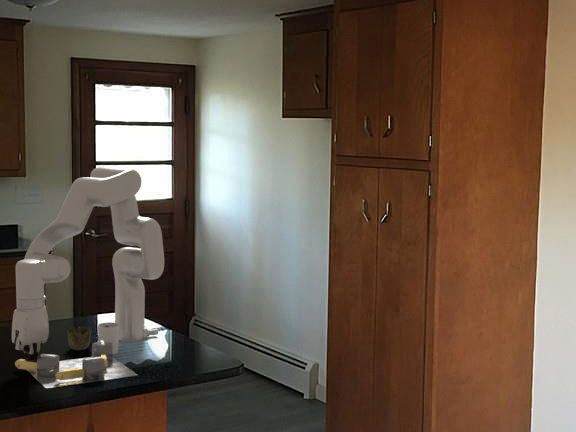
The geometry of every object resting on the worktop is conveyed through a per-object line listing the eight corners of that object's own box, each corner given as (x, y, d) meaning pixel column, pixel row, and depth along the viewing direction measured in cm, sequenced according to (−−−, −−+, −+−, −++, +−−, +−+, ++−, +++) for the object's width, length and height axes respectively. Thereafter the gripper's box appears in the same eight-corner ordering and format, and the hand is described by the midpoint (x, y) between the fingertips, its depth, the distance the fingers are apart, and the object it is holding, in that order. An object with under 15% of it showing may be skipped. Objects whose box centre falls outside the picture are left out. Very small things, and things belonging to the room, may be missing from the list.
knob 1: (63, 372, 231) (63, 353, 230) (51, 378, 225) (51, 359, 225) (22, 367, 235) (22, 348, 235) (9, 373, 229) (9, 353, 229)
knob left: (100, 373, 232) (100, 354, 231) (107, 379, 227) (107, 359, 226) (52, 380, 224) (52, 360, 224) (58, 386, 219) (58, 366, 219)
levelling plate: (109, 359, 251) (109, 354, 251) (138, 380, 232) (138, 374, 231) (22, 370, 237) (22, 365, 237) (45, 393, 218) (46, 387, 217)
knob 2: (91, 358, 246) (91, 340, 246) (111, 357, 248) (111, 339, 247) (93, 371, 233) (93, 352, 233) (115, 370, 235) (115, 351, 234)
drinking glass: (93, 357, 252) (93, 326, 251) (105, 352, 258) (105, 321, 257) (111, 360, 250) (111, 328, 249) (123, 355, 256) (123, 323, 255)
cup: (69, 358, 251) (69, 332, 250) (64, 352, 257) (64, 327, 257) (94, 355, 254) (94, 330, 254) (88, 349, 261) (88, 325, 260)
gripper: (41, 296, 240) (42, 357, 242) (0, 306, 227) (2, 370, 229) (59, 299, 236) (61, 361, 238) (19, 310, 223) (20, 375, 226)
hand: (32, 366), depth 234 cm, fingers closed
